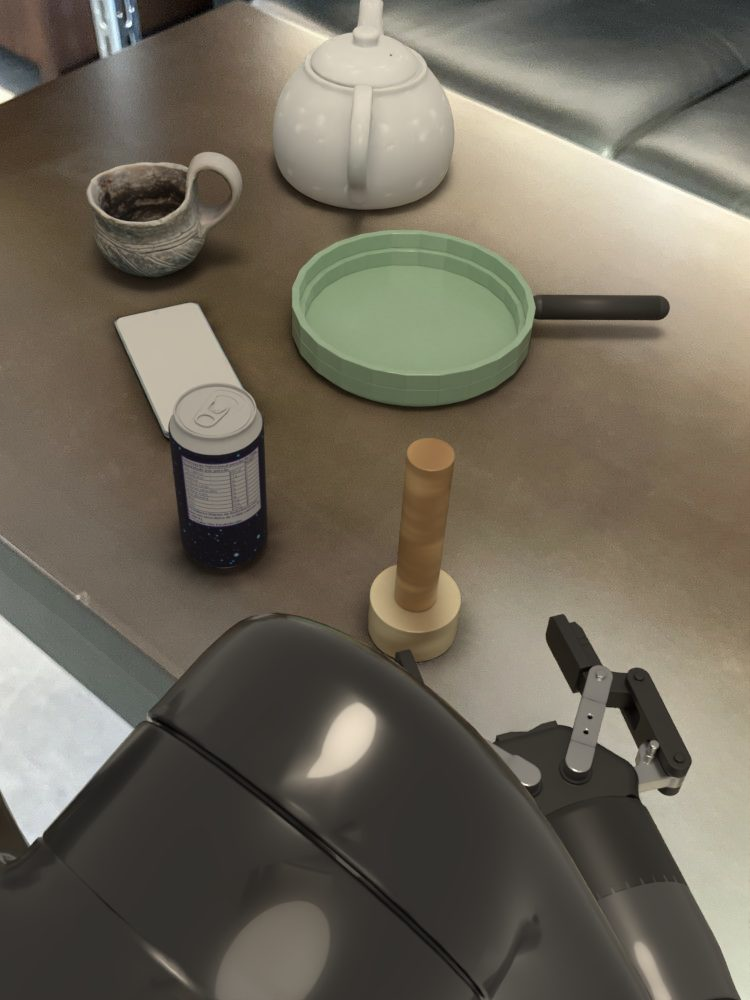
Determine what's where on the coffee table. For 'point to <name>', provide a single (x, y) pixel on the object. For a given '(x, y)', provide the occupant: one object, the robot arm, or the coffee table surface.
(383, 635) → the brush
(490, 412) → the coffee table surface
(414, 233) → the pan
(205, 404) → the beverage can
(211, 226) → the mug
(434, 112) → the teapot
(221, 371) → the smartphone
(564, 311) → the pan handle
